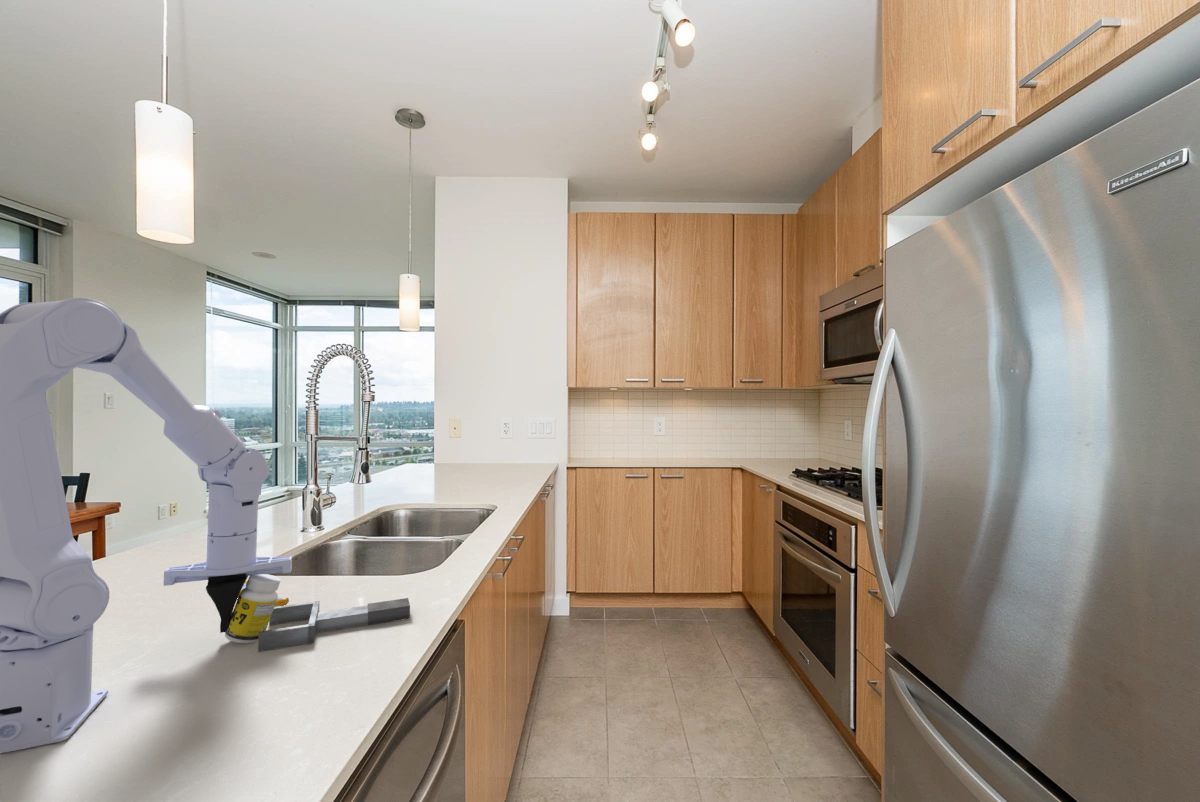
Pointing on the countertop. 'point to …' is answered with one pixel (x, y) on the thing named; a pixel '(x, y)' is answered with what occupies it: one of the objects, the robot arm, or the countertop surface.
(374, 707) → the countertop surface
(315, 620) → the open-end wrench
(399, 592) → the countertop surface
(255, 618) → the supplement bottle
